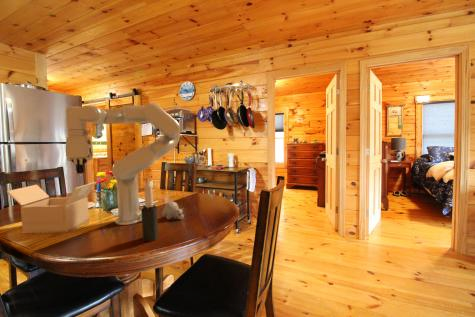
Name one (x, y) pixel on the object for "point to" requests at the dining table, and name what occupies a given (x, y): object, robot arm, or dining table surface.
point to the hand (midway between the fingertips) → (80, 173)
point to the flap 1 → (28, 194)
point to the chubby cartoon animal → (172, 210)
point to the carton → (54, 215)
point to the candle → (149, 215)
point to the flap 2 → (80, 192)
